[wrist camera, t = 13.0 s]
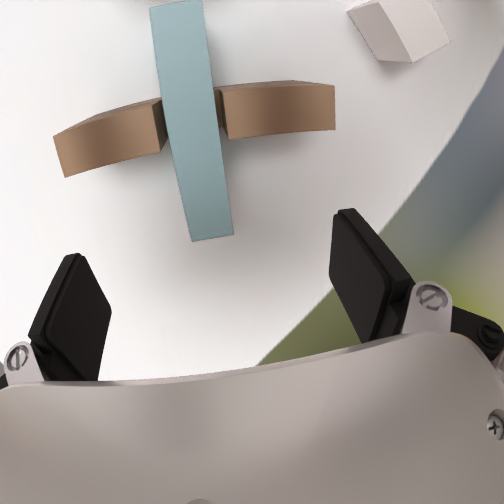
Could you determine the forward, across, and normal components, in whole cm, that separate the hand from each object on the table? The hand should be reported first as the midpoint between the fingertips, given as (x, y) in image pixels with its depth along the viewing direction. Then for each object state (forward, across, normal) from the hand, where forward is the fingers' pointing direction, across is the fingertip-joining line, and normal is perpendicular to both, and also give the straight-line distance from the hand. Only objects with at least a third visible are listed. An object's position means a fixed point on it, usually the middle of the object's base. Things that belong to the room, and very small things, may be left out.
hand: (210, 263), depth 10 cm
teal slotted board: (+18, +1, -3) cm, 18 cm away
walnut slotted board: (+18, +1, -3) cm, 19 cm away
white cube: (+19, -18, -11) cm, 29 cm away
